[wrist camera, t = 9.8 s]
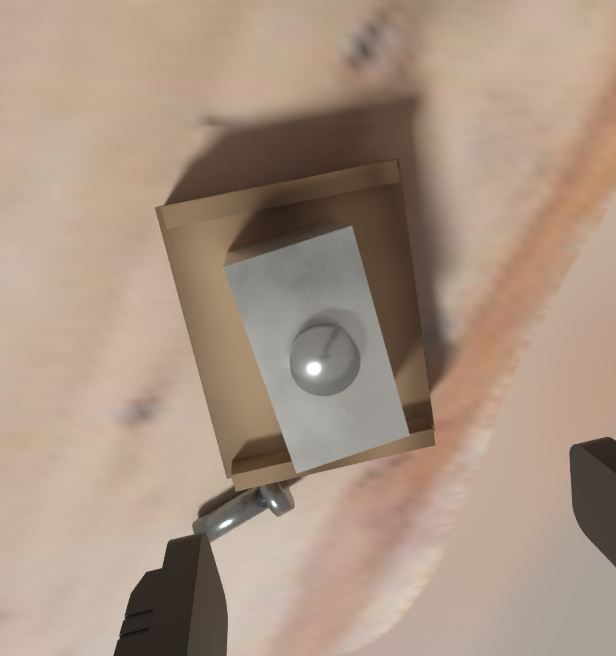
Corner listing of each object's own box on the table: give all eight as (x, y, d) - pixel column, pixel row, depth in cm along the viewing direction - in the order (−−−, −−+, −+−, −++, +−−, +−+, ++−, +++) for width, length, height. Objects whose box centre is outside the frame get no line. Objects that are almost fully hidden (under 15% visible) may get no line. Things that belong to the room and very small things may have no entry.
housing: (332, 217, 26) (356, 226, 21) (382, 394, 29) (415, 443, 24) (226, 251, 26) (222, 270, 21) (287, 425, 29) (298, 483, 24)
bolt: (271, 461, 33) (273, 484, 30) (292, 492, 34) (296, 516, 31) (189, 510, 33) (184, 537, 31) (212, 539, 34) (210, 568, 31)
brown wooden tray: (382, 161, 29) (406, 157, 25) (418, 409, 33) (444, 443, 29) (164, 204, 28) (149, 209, 24) (228, 452, 32) (226, 493, 28)
